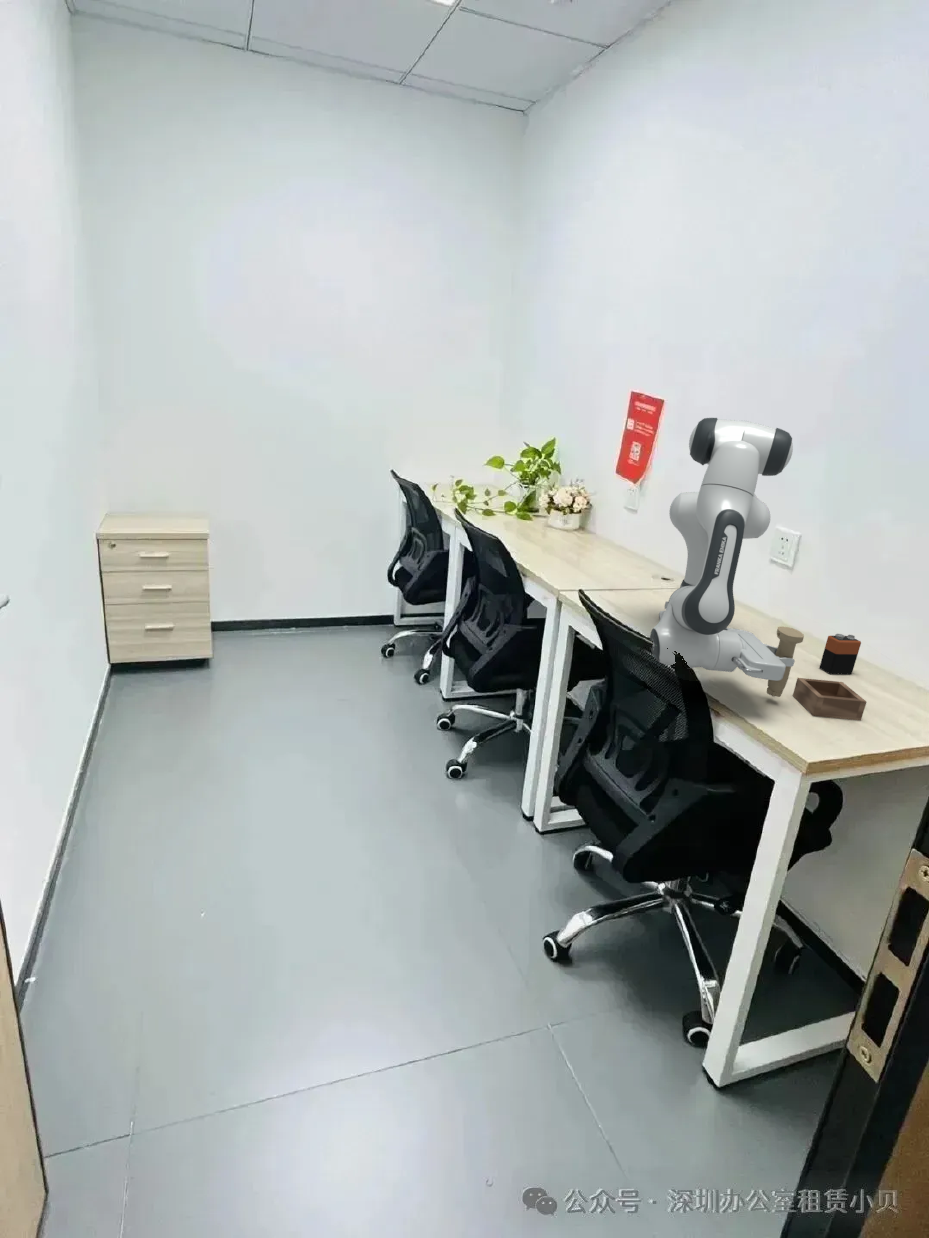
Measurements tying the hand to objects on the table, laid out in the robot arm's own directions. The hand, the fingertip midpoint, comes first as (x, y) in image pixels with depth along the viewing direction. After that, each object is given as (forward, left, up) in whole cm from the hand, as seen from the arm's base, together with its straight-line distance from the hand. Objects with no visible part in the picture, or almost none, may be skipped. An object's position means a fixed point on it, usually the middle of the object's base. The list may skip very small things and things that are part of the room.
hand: (787, 657), depth 151 cm
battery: (-24, +25, -11) cm, 36 cm away
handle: (0, -1, -9) cm, 9 cm away
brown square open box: (0, +11, -11) cm, 16 cm away
